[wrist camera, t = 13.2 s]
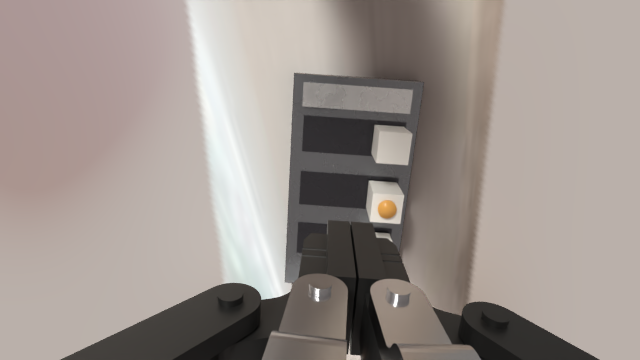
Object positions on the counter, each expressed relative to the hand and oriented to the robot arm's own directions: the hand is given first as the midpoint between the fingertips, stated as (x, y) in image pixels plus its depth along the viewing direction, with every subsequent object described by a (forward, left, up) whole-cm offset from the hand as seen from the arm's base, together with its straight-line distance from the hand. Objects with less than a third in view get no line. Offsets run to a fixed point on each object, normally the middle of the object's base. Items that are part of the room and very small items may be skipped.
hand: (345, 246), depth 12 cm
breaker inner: (+1, +6, -27) cm, 27 cm away
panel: (+7, +2, -29) cm, 30 cm away
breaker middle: (+7, +6, -27) cm, 28 cm away
